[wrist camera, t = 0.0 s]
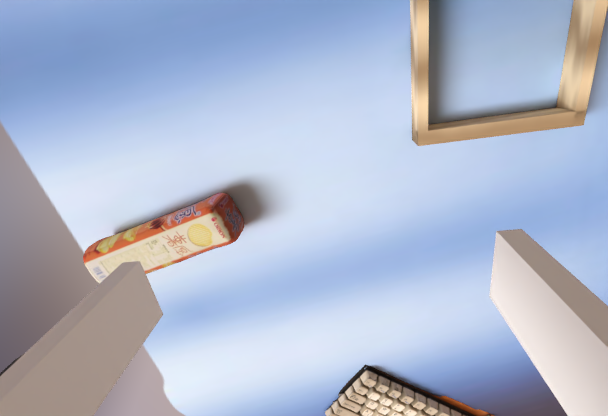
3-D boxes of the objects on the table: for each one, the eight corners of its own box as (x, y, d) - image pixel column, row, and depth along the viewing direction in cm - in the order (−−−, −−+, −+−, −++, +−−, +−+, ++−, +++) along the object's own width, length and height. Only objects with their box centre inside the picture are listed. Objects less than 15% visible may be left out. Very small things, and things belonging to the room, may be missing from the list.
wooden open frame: (409, -19, 30) (417, -27, 28) (595, -56, 28) (622, -69, 25) (412, 139, 37) (418, 145, 34) (563, 120, 34) (583, 125, 31)
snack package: (228, 184, 41) (210, 205, 35) (251, 225, 44) (237, 252, 38) (106, 232, 47) (71, 258, 40) (132, 267, 49) (103, 296, 43)
